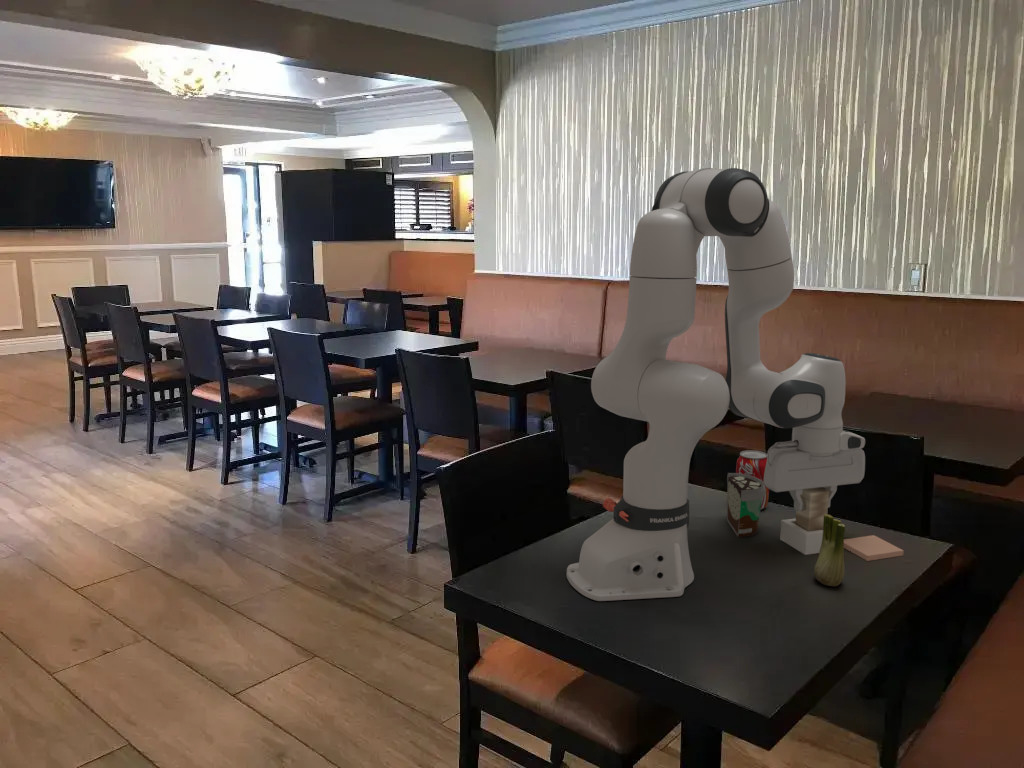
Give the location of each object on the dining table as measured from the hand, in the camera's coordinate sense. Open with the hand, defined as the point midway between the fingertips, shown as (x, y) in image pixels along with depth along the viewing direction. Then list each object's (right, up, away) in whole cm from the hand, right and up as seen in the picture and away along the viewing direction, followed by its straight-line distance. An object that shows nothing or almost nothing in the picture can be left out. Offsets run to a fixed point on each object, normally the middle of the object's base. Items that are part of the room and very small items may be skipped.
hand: (811, 508), depth 163 cm
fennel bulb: (-3, -11, -15) cm, 19 cm away
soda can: (-5, -3, +23) cm, 23 cm away
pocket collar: (0, -7, +2) cm, 7 cm away
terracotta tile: (+11, -8, -1) cm, 13 cm away
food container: (-10, -6, +10) cm, 15 cm away
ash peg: (0, -6, +1) cm, 6 cm away
